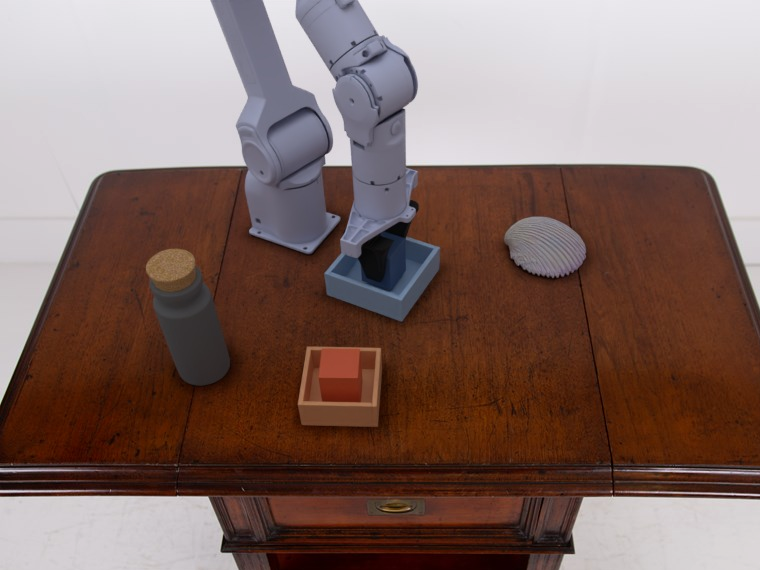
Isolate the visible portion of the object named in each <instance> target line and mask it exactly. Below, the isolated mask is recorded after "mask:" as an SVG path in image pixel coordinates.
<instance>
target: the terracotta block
mask: <svg viewBox="0 0 760 570" xmlns="http://www.w3.org/2000/svg"><path fill="white" fill-rule="evenodd" d="M318 379H319V385H320V392H321V398H322V402H359V403H361V396H362V382H363V378H362V366H361V354H360V349H333V348H322V350H321V359H320V368H319V376H318Z"/></svg>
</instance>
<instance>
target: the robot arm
mask: <svg viewBox="0 0 760 570" xmlns="http://www.w3.org/2000/svg"><path fill="white" fill-rule="evenodd" d="M210 3H211V6H212V9H213V11H214V14H215V16H216V19H217V22H218V23H219V26H220V29H221V31H222V34H223V37H224V39H225V42H226V45H227V47H228V49H229V52H230V55H231V57H232V60H233V62H234V65H235V67H236V70H237V73H238V75H239V78H240V81H241V83H242V85H243V88H244V91H245V93H246V96H247V99H246V102H245V105H244V106H243V109H242V110H241V112H240V114H239V116H238V118H237V120H236V123H235V128H236V131H237V133H238V134H237V135H238V136H239V140H240V145H241V155H242V158H243V162H244V163H245V166H246V167H247V171H246V175H245V180H244V194H245V198H246V204H247V208H248V212H249V218H250V221H251V228H250V229H249V230H248V232H249V235H251V236H254V237H256V238H258V239H259V238H260V239H262V240H265V241H268V242H272V243H274V244H277V245H280V246H282V247H286V248H289V249H291V250H295V251H296V252H300V253H303V254H305V255H311V254H313V253H314V252H315V250H317V248H319V246H320V245H321V244H322V243H323V241H325V239H326V238H327V237H328V236H329V234H331V232H333V230H334V229H335V228H336V226H337V225H338V224H339V223H340V222H341V221H342V220H341V216H340V215H337V214H334V213H331V212H327V207H326V206H327V205H326V197H325V196H326V195H325V188H324V179H323V170H322V168H323V167H324V166H326V164H327V163H326V155H327V154H329V153H331V151H332V149H333V146H334V135H333V130H332V127H331V124H330V122H329V120H328V119H327V117H326V116H325V114H324V113H323V112H322V110H321V108H320V106H319V104H318V102H317V99H316V96H315V94H314V93H313V92H310V91H309V90H306V89H304V88H302V87H299V86H296V85H294V84H293V82H292V79H291V76H290V74H289V71H288V68H287V65H286V62H285V60H284V56H283V54H282V51H281V48H280V46H279V42H278V39H277V37H276V34H275V31H274V28H273V26H272V23H271V20H270V16H269V13H268V11H267V8H266V5H265V2H264V0H210ZM294 13H295V19H296V20H297V22H298V23H299V25H300V27H301V29H302V30H303V31H304V33H305V35H306V36H307V38H308V39H309V41H310V42H311V44H312V46H313V47H314V49H315V51H316V52H317V54H318V55H319V57H320V58H321V61H323V63H324V65H325V66H326V68H327V70H328V71H329V73H330V74H331V76H332V77H333V79H334V81H335V87H334V88H332V89H331V90H332V97H333V100H334V103H335V106H336V108H337V110H338V112H339V114H340V115H341V118H342V121H343V131H344V132H346V137H347V138H348V139H349V145H350V146H349V147H350V156H351V157H350V159H351V172H352V173H351V175H352V188H353V189H352V190H353V199H354V200H353V202H352V206H351V209H350V214H349V217H348V221H347V225H346V227H345V229H343V231H342V236H341V238H340V239H339V242H340V254H341V253H342V254H345V255H348V256H351V257H354V258H358V260H359V262H360V264H361V266H362V269H363V271H364V274H365V276H366V278H368V279H371V280H373V281H376V282H379V283H380V282H381V281H382V280H383V278H384V275H385V269H386V259H387V255H388V252H389V249H390V247H391V245H392V243H393V242H394V240H392V239H389V238H385V237H382V236H381V232H383V231H384V232H387V233H390V234H393V235H396V236H399V237H403V238H405V240H406V237H408V236H407V235H408V232H409V229H410V227H411V225H412V222H413V221H414V218H415V216H416V215H417V213H418V212H419V210H420V205H419V203H418V202H417V201H415V200H413V199H412V198H411V197H412V191H413V190H414V189H416V188H417V187H418V185H419V183H418V182H419V181H418V180H419V179H418V177H419V174H418V173H419V171H418V170H415V169H411V168H409V167H407V140H406V139H407V138H406V137H407V133H406V132H407V129H406V127H407V125H406V121H407V120H406V107H407V106H408V105H409V104H410V103H412V102H414V100H415V98H416V96H417V94H418V88H419V81H418V76H417V73H416V72H417V71H416V69H415V66H414V65H413V63H412V60H411V58H410V56H409V55H408V54H407V53H406V52H405V50H403V49H402V48H400V47H399V46H397V45H395V44H393V43H392V42H391V41H390V39H389V38H388V36H385V35H384V34H382V35H379V33H378V31H377V30H376V28H375V26H374V24H373V23H372V21H371V20H370V18H369V16H368V15H367V13H366V11H365V10H364V8H363V6H362V4H360V2H359V0H295V12H294Z"/></svg>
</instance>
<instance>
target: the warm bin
mask: <svg viewBox="0 0 760 570" xmlns="http://www.w3.org/2000/svg"><path fill="white" fill-rule="evenodd" d="M322 348H333V349H360V354H361V366H362V378H363V382H362V396H361V403H359V402H322V398H321V392H320V385H319V379H318V376H319V368H320V359H321V350H322ZM382 360H383V359H382V348H381V347H360V346H359V347H357V346H356V347H355V346H353V347H352V346H306V350H305V357H304V363H303V369H302V375H301V382H300V388H299V394H298V401H297V407H298V412H299V418H300V423H301V426H315V427H317V426H319V427H320V426H323V427H329V426H330V427H360V428H362V427H363V428H367V427H368V428H378V427H379V417H380V404H381V392H382V390H381V389H382V379H383V378H382V377H383V376H382V375H383V362H382Z"/></svg>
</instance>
